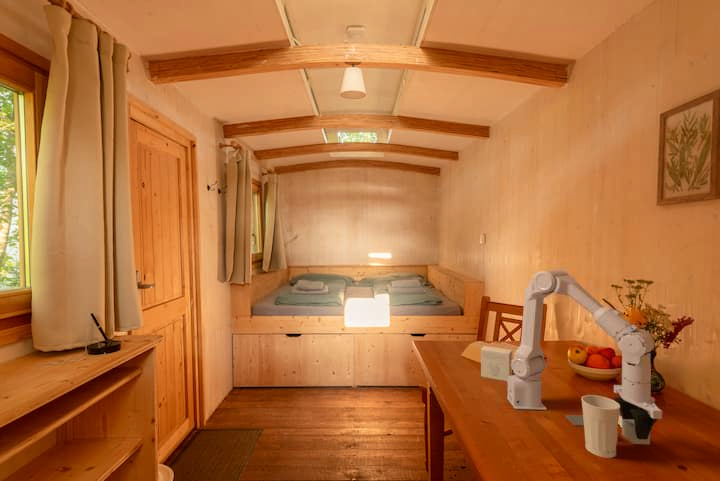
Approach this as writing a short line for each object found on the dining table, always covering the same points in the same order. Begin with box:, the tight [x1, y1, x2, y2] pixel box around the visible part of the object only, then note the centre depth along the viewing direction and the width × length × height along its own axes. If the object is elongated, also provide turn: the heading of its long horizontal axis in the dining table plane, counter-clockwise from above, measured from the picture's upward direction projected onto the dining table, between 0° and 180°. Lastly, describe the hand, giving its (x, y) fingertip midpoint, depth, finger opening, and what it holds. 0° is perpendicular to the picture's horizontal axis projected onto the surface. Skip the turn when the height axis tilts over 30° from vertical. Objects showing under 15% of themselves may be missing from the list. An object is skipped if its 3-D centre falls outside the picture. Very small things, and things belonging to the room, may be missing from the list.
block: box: [621, 419, 651, 445], centre depth 90 cm, size 4×4×4 cm
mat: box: [564, 414, 584, 427], centre depth 104 cm, size 6×6×1 cm
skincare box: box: [480, 345, 513, 383], centre depth 137 cm, size 10×6×10 cm, turn 58°
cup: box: [580, 394, 621, 459], centre depth 89 cm, size 8×8×12 cm
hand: (635, 433), depth 90 cm, fingers closed on block, 4 cm apart
